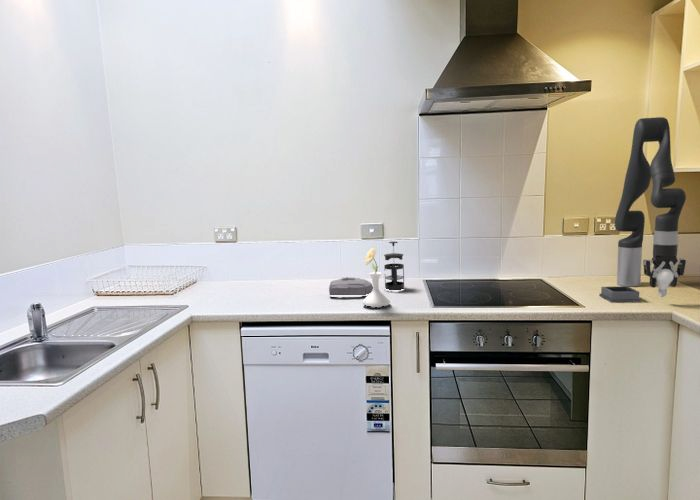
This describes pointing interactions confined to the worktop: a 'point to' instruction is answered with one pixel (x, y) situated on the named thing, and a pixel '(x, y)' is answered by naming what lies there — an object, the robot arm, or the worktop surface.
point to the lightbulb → (664, 281)
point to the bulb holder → (619, 294)
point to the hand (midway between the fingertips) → (662, 286)
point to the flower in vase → (374, 284)
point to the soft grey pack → (350, 287)
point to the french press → (394, 271)
